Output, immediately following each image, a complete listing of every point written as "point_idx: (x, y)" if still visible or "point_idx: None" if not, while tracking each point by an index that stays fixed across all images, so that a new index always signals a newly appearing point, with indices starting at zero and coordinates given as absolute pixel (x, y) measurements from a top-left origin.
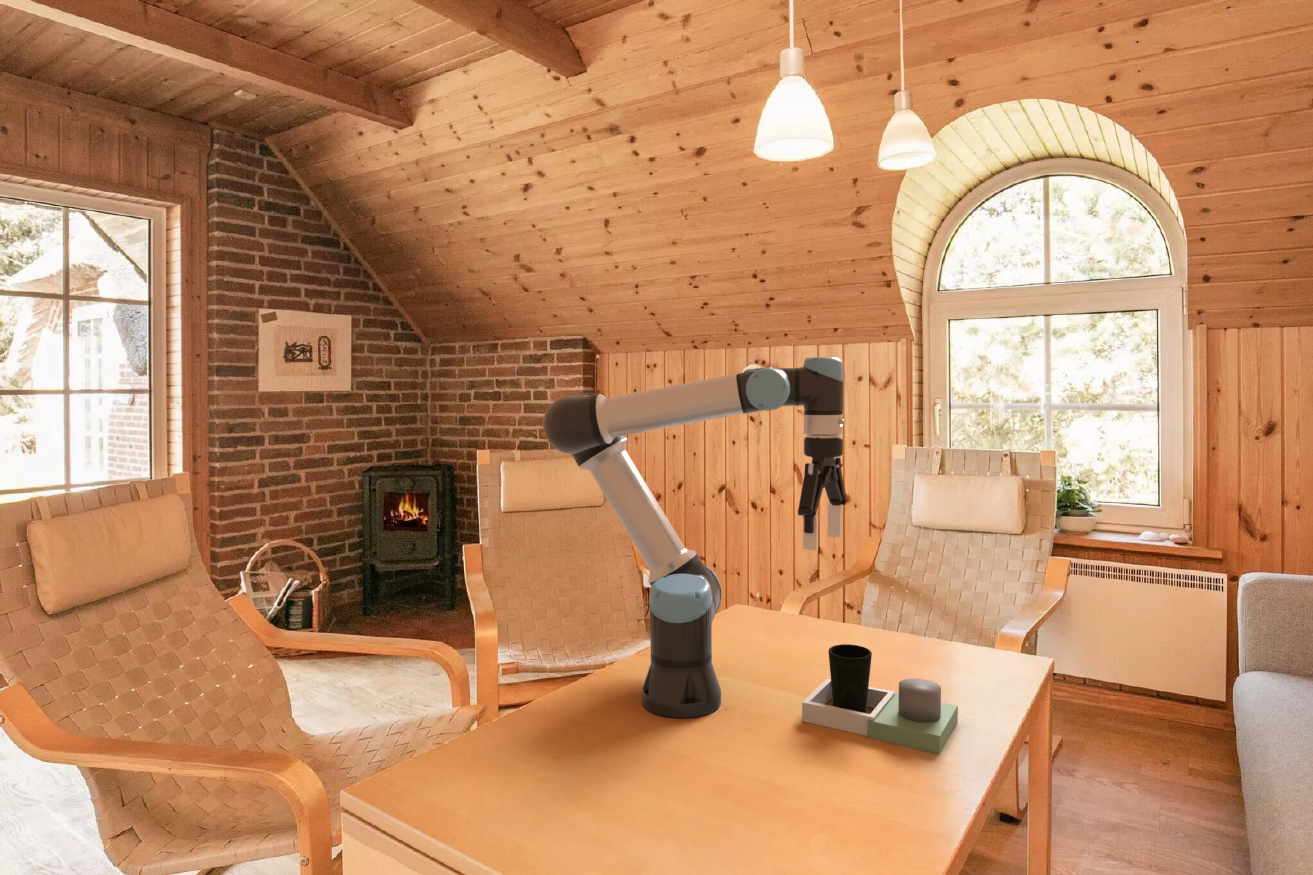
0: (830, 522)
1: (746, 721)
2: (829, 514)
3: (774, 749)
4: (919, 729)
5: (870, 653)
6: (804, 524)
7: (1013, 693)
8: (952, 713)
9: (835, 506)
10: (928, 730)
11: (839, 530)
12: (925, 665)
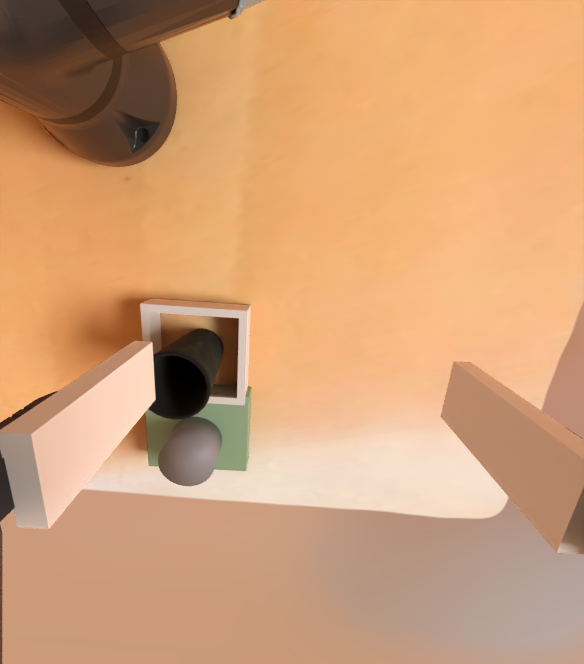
0: (492, 408)
1: (107, 226)
2: (526, 431)
3: (55, 292)
4: (153, 445)
5: (180, 418)
6: (5, 421)
7: (362, 497)
8: (219, 468)
9: (562, 515)
10: (156, 454)
11: (458, 431)
12: (425, 399)
